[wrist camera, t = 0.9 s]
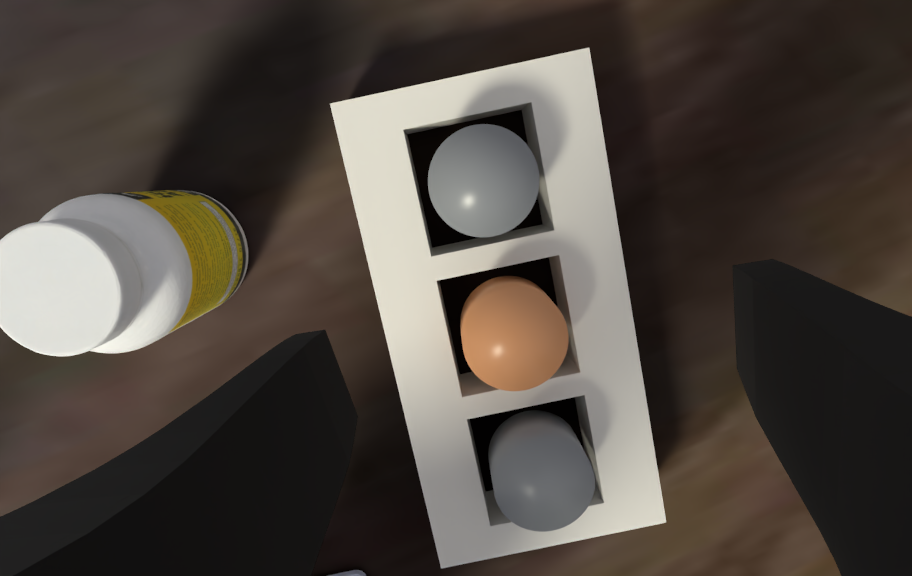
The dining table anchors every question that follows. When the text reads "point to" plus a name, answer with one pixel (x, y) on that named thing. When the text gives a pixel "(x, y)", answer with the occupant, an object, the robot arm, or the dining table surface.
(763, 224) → the dining table surface
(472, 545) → the button panel
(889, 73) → the dining table surface
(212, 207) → the supplement bottle
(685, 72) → the dining table surface
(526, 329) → the orange rounded dome
